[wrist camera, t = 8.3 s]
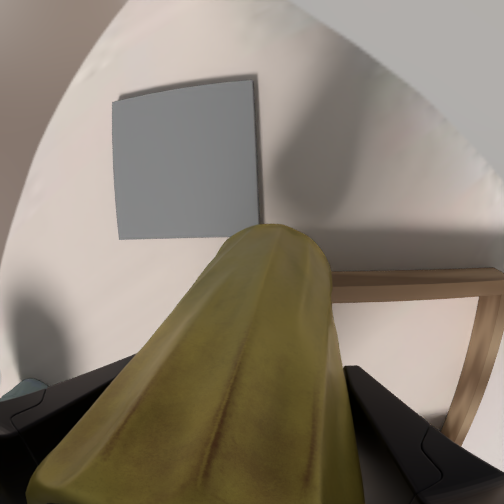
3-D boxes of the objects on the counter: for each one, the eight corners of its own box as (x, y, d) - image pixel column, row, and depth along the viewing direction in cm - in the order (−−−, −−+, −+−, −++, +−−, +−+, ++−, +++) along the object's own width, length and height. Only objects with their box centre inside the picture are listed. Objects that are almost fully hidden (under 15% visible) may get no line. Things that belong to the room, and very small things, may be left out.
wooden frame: (446, 436, 23) (455, 457, 20) (272, 450, 25) (268, 473, 22) (493, 267, 19) (514, 279, 16) (268, 272, 21) (264, 287, 19)
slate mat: (259, 234, 21) (258, 236, 20) (123, 238, 22) (119, 239, 22) (253, 82, 19) (252, 79, 18) (116, 103, 20) (112, 102, 20)
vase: (337, 226, 15) (497, 499, 1) (324, 341, 17) (338, 621, 3) (211, 219, 16) (-63, 386, 2) (212, 331, 17) (78, 570, 4)
